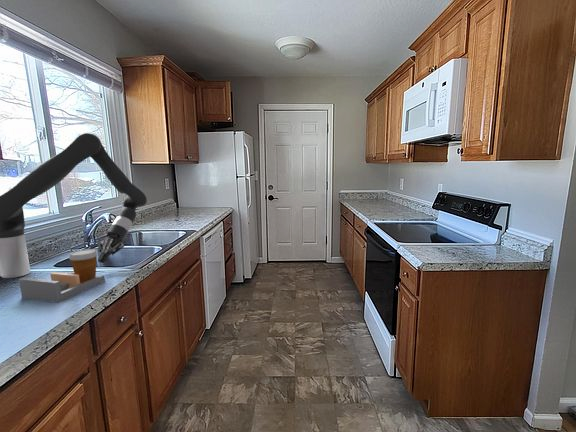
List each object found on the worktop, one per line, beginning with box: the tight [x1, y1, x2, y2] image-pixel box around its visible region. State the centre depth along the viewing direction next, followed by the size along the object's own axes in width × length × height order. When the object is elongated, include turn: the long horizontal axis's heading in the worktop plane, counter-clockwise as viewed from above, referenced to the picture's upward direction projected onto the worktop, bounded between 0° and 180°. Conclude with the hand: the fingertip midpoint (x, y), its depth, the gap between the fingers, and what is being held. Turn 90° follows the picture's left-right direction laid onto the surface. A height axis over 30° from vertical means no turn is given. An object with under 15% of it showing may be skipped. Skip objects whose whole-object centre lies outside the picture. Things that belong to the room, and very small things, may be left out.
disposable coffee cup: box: [68, 248, 98, 284], centre depth 120 cm, size 10×10×12 cm
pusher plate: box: [49, 272, 81, 292], centre depth 111 cm, size 12×3×6 cm, turn 76°
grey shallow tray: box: [18, 271, 106, 303], centre depth 112 cm, size 16×20×7 cm
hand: (100, 262), depth 128 cm, fingers closed
